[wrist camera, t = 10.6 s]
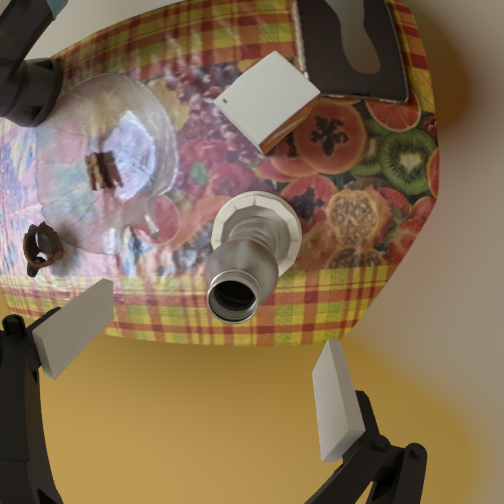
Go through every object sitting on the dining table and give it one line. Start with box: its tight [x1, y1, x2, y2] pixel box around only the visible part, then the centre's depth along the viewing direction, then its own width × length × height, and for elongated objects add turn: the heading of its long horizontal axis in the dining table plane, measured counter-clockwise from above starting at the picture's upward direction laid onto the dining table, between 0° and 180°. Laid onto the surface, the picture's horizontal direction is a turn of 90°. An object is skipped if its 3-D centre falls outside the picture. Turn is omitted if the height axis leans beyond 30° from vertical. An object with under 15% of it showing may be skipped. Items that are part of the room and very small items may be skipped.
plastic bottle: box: [205, 216, 280, 324], centre depth 28 cm, size 6×7×20 cm
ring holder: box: [211, 191, 302, 277], centre depth 37 cm, size 12×12×3 cm
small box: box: [213, 51, 321, 155], centre depth 28 cm, size 8×6×13 cm
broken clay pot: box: [23, 221, 64, 277], centre depth 41 cm, size 12×10×8 cm
